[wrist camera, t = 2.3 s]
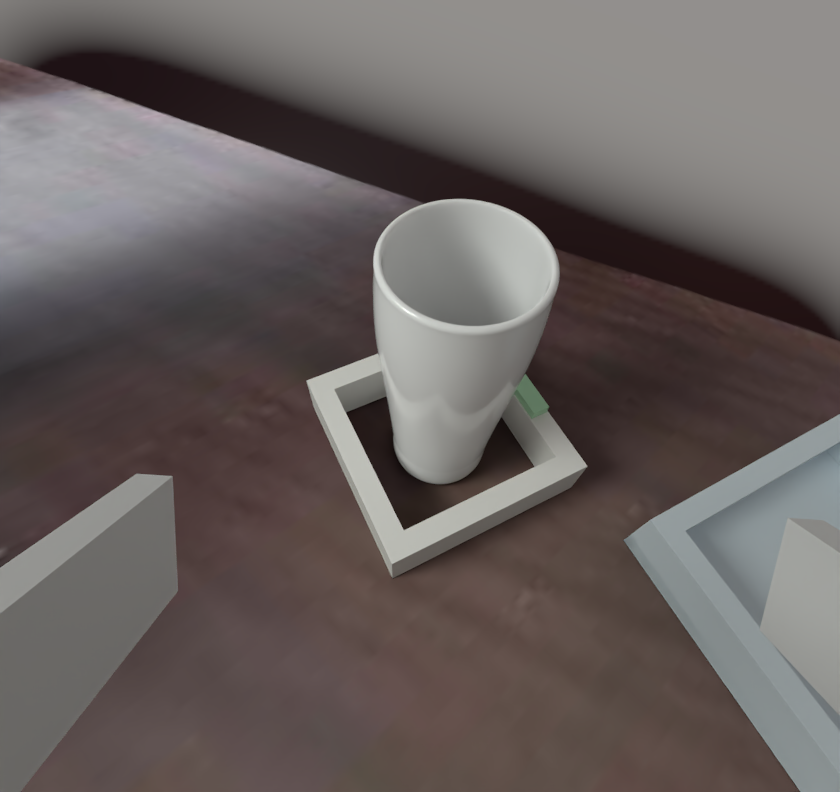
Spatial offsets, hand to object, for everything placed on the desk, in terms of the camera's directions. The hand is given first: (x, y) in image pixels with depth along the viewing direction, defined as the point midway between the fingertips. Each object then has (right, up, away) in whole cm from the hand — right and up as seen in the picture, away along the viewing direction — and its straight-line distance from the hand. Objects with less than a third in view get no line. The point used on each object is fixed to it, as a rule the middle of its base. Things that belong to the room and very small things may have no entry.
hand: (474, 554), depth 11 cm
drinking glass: (0, 0, +20) cm, 20 cm away
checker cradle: (0, 0, +20) cm, 20 cm away
